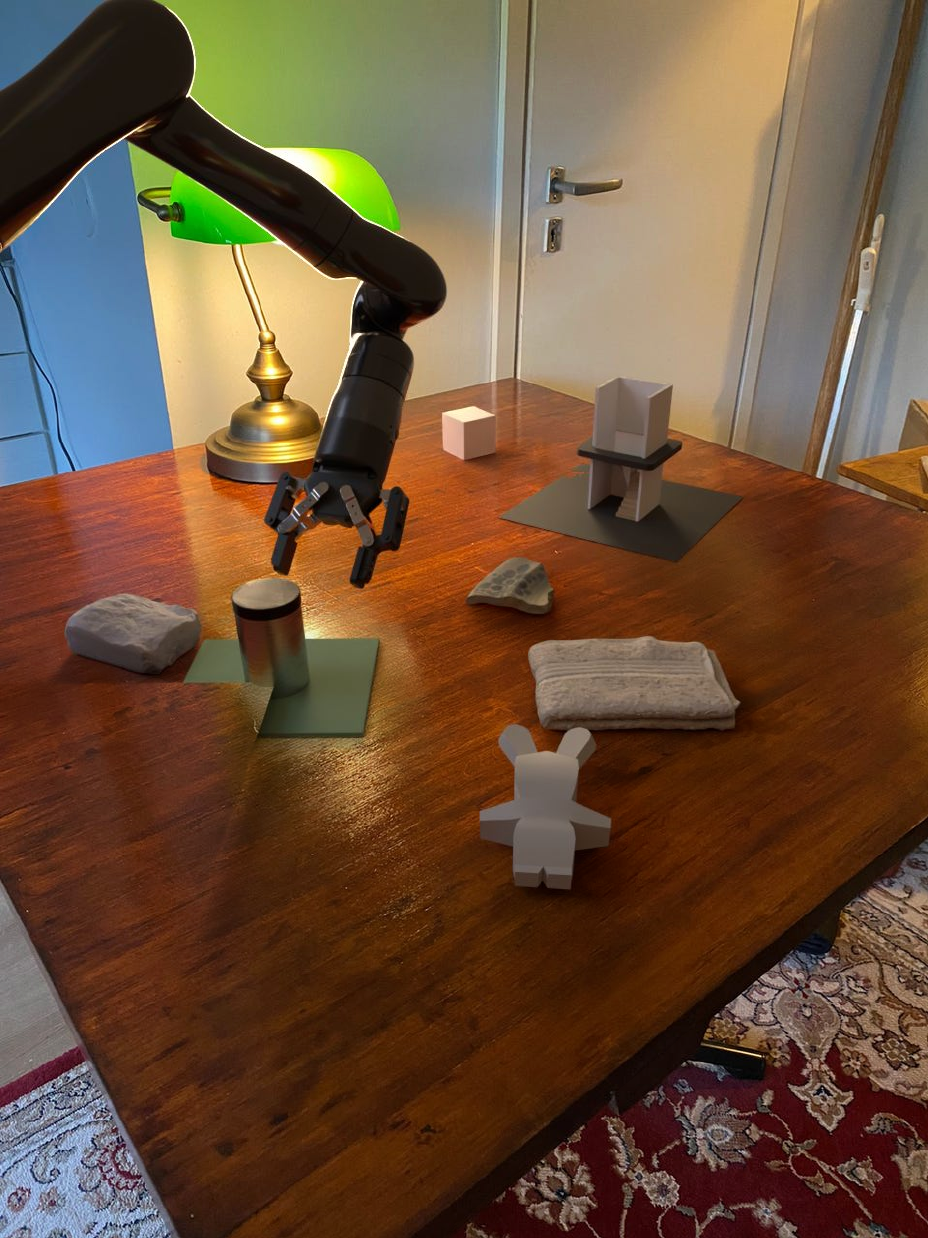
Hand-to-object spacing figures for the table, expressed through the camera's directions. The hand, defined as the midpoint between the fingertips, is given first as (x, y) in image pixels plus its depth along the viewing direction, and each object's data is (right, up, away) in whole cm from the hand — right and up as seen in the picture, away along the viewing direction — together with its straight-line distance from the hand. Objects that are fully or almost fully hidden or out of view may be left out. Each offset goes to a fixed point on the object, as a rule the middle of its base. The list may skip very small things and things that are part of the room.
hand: (317, 579), depth 90 cm
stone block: (-19, -7, +3) cm, 20 cm away
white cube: (+15, +22, +53) cm, 60 cm away
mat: (-3, -10, -4) cm, 11 cm away
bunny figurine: (+21, -20, -21) cm, 35 cm away
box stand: (+36, +11, +33) cm, 50 cm away
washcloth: (+30, -11, -6) cm, 32 cm away
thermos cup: (-3, -10, -4) cm, 11 cm away
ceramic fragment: (+21, -1, +12) cm, 24 cm away
